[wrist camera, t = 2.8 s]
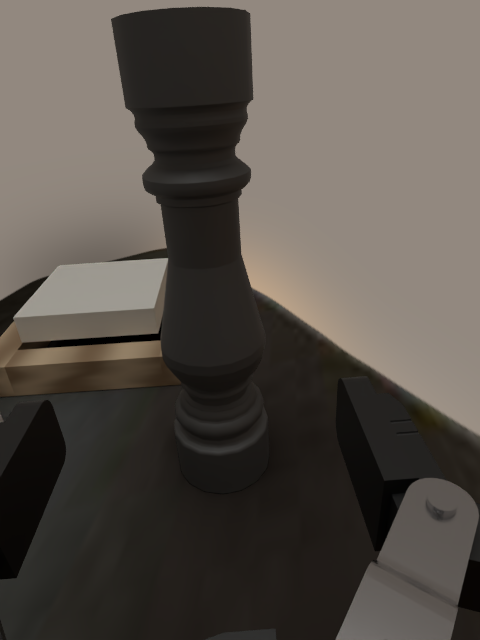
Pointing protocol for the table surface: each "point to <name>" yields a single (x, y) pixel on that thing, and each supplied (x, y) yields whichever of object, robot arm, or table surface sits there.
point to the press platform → (96, 301)
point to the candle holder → (201, 229)
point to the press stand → (78, 366)
